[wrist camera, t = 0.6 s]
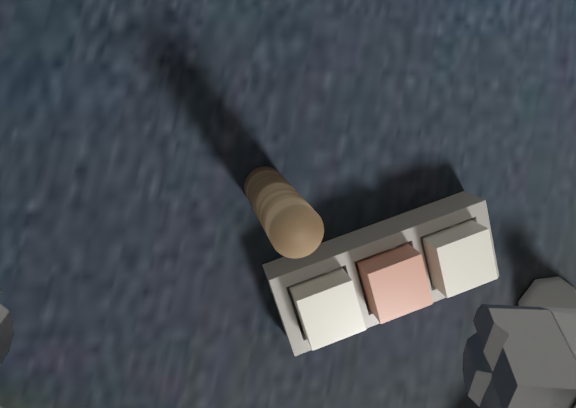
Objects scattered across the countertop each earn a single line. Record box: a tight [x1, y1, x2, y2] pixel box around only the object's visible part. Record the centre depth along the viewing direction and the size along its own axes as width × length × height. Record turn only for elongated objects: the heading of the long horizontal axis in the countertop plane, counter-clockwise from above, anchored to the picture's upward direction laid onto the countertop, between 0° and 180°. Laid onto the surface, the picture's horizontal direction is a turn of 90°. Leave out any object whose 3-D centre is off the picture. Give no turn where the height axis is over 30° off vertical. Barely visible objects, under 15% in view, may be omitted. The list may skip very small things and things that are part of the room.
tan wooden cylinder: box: [244, 166, 324, 259], centre depth 39 cm, size 4×4×13 cm
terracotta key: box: [357, 243, 433, 324], centre depth 45 cm, size 5×5×3 cm
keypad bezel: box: [262, 191, 499, 356], centre depth 48 cm, size 8×21×4 cm, turn 107°
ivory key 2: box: [289, 268, 366, 351], centre depth 45 cm, size 5×5×3 cm
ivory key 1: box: [422, 220, 498, 298], centre depth 46 cm, size 5×5×3 cm
